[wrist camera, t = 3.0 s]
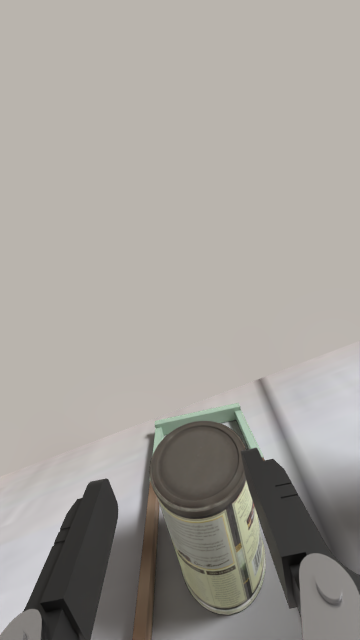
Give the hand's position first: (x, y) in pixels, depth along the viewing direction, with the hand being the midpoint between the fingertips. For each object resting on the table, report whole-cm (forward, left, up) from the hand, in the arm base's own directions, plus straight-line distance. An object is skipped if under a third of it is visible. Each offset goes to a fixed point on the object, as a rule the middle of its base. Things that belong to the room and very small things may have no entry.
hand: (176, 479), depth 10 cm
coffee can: (+9, -5, -24) cm, 26 cm away
